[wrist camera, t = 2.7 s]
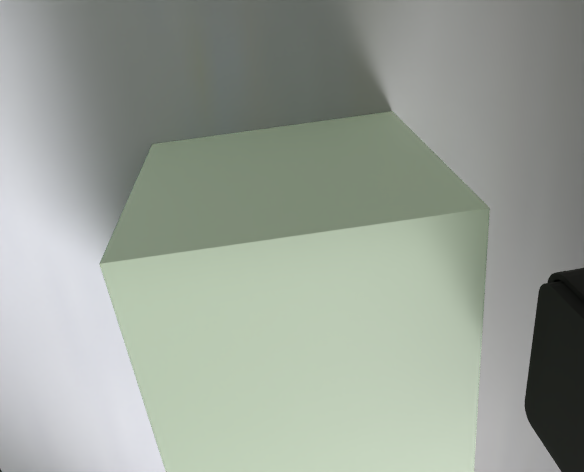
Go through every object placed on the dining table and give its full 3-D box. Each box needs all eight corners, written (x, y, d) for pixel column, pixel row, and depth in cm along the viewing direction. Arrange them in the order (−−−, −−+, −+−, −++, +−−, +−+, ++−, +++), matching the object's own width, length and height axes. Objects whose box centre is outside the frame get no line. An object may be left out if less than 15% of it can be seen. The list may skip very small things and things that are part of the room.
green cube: (391, 110, 14) (489, 208, 8) (397, 307, 17) (473, 474, 11) (153, 143, 14) (99, 263, 8) (198, 336, 16) (181, 519, 11)
